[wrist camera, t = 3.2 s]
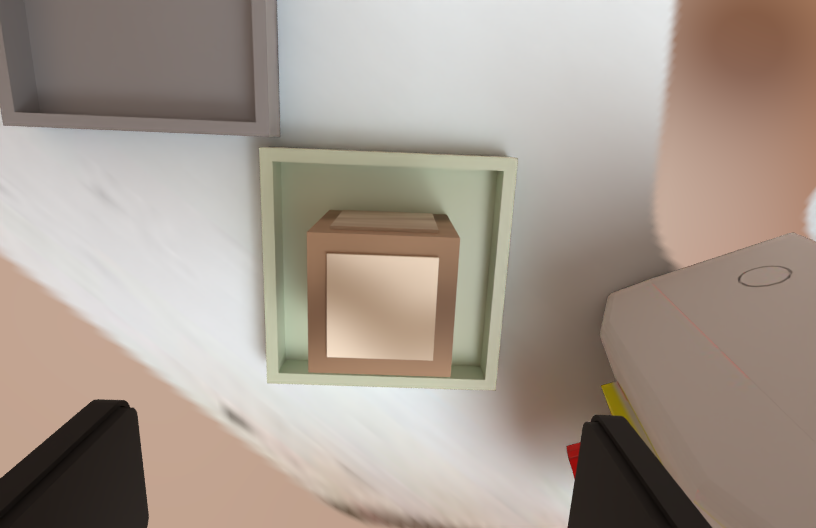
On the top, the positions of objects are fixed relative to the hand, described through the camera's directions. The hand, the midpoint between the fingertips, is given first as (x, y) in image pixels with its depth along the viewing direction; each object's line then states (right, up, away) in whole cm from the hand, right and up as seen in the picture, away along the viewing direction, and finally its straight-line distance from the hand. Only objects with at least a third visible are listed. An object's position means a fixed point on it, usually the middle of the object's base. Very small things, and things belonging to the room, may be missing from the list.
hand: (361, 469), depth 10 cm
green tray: (0, +4, +16) cm, 16 cm away
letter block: (0, +4, +15) cm, 16 cm away
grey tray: (-11, +17, +12) cm, 24 cm away
